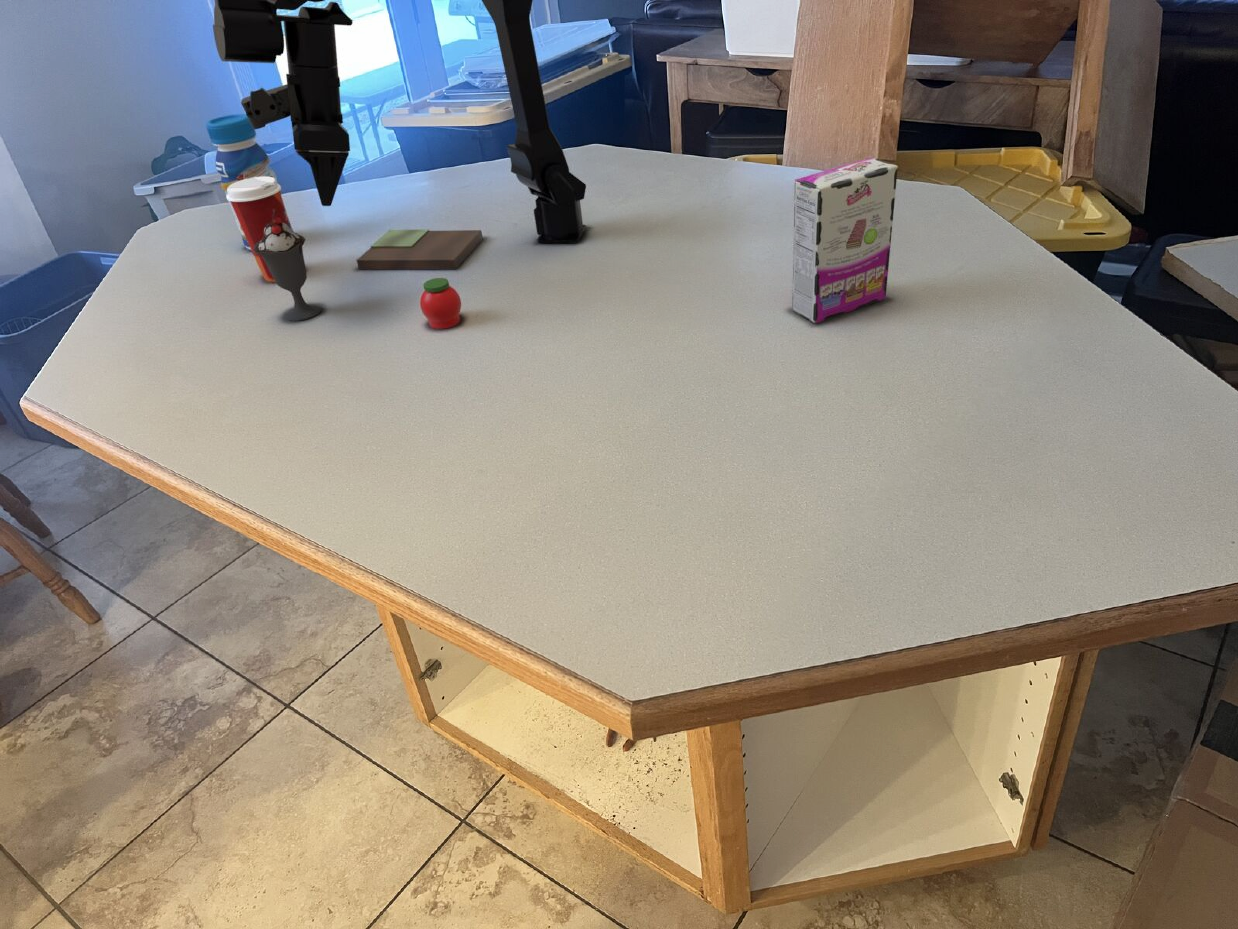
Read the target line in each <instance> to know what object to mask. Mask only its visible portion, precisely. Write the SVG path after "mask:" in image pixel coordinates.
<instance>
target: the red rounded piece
mask: <svg viewBox="0 0 1238 929" xmlns="http://www.w3.org/2000/svg"><path fill="white" fill-rule="evenodd" d="M419 300H420V301H419V306H420V310H421V313H422V314H423V316H424V317H425V318H426V319H427V320H428V323H429V326H430V327H431V328H432V329H435V330H442V329H443V330H444V329H449V328H452V327H454V326H456V325H458V324H459V323H460V321H461V317H460V312H461V309H462V300H461V297H460V294H459V293H458V291H457V290H456V289H455V288H454V287H452V286H451V285H450V282H449V279H448V278H446V277H436V278H435V277H434V278H431V279H428V280H426V281H425V282H423V292H422V293H421V295H420V298H419Z"/></svg>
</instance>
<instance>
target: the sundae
mask: <svg viewBox="0 0 1238 929" xmlns="http://www.w3.org/2000/svg"><path fill="white" fill-rule="evenodd" d="M273 213H274V214H275V213H276V210H275V209H273ZM273 213H272V222H271V223H267V225H266V227H265V229H264V237H263V239H262V240H261V241H260V242H258V243H257V244H255V246H254V249H253V250H254V253H255V254H259V255H261V256H262V257H263V259H264V261H265V262H266V264H267V266H268V268H269V270H270V272H271V274H272V276H273V278H274V280H275V281H276V282H275V283H276V285H277V286H278V287H280V288H281V289H283V290H286V291H288V292H289V293H290V294H291V296H292V297H293V298H292V299H293V301H294V306H293V307H292V308H291V309H289V310H288V311H287V312H285V313H284V318H285V319H286V320H287V321H290V322H300V321H305V320H309V319H312V318H314V317H315V316H317V315H319V314H320V313H321V311H322V307H321V306H320V305H318V304H314V303H313V304H311V303H310V304H309V303H307V302H306V301H305V298H304V297H303V295H302V291H301V289H302V288H303V286H304V285H305V284H306V281H307V278H308V276H307V275H308V274H307V266H306V262H305V258H304V257H305V256H304V250H303V246H304V245H305V242H306V240H307V239H306V238H305V237H304V236H303V235H301V234H299V233H297V232H295V231H294V230H293V231H291V229H290V228H289V227H288V226H287V225H286V224H285V223H283V222H281V219H280V218H275V217H274V214H273ZM273 217H274V219H273Z"/></svg>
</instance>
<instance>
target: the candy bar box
mask: <svg viewBox="0 0 1238 929" xmlns="http://www.w3.org/2000/svg"><path fill="white" fill-rule="evenodd" d="M898 168H899V166H898V165H896V164H893V163H891V162H890V163H889V162H887V161H884V160H880V159H878V158H873V157H868V158H865V159H861V160H858V161H854V162H851V163H847V164H844V165H841V166H837V167H833V168H829V169H827V170H823V171H820V172H816V173H813V174H809V175H805V176H803V177H799V178H796V179H794V200H793V201H794V207H793V210H794V211H793V254H792V264H793V265H792V302H791V303H792V307H791V308H792V311H793V312H794V313H795V314H797V315H799V316H801V317H803V318H805V319H807V320H808V321H810V322H812V323H813V324H819V323H821V322H824V321H828V320H830V319H833V318H836V317H839V316H841V315H844V314H847V313H850V312H852V311H855V310H859V309H861V308H864V307H866V306H869V305H872V304H875V303H877V302H880V301H882V300H885V299H886V298H887V288H888V278H889V266H890V256H891V244H892V232H893V225H894V224H893V223H894V213H895V212H894V211H895V200H896V190H897V180H898Z"/></svg>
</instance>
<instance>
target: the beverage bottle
mask: <svg viewBox="0 0 1238 929" xmlns="http://www.w3.org/2000/svg"><path fill="white" fill-rule="evenodd" d="M205 127H206V130H207V134H208V137H209V139H210V141H211V143H212V145H213V146H215V147H217V151H216V155H215V169H216V171H217V173H218V174H219V175H220V177H221V178H220V185H221V189H222V190H223V192H224V194H225V196H226V197H227V195H228V193H227V188H228V186H230V185H231V184H233V183H235V182H238V181H241V180H244V179H249V178H254V177H264V176H267V177H273V178H274V179H275V180H276V181H277V182H278V178H277V174H276V173H275V171H274V170H273V168H272V167H271V165H270V163H271V159H270V157H269V155H268V154H267V152H266V151H265V149H263V147H261V145H260V144H259V143H257V142H256V141H255V139H256V138H257V132H256V129H253V127H252V125H251V123H250V121H249V119H248V117H247V115H246V113H236V114H235V113H234V114H227V115H222V116H218V117H214V118H212V119H209V120H207V121H206V122H205ZM282 200H283V198H282ZM227 201H228V204H229V207H230V209H231V213H232V214H233V218H234V220H235V224H236V225H237V228H238V230H239V234H240V237H241V240H242V242H243V245H244V247H245V248H246V249H247V250H250V251H252V250H251V248H250V246H249V243H248V241H247V239H246V236H245V234H244V232H243V229H242V227H241V225H240V223H239V220H238V218H237V216H236V213H235V211H234V209H233V206H232V204H231V202H230V201H229V200H227ZM283 204H284V207H285V211H286V214H287V218H288V222H289V225H290V229H291V231H294V228H293V227H292V225H291V224H292V223H291V221H290V218H289V216H288V212H287V209H286V206H285V203H284V200H283Z"/></svg>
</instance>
